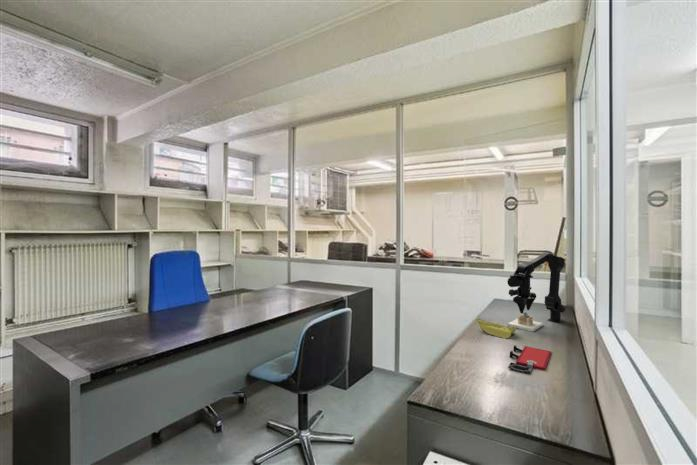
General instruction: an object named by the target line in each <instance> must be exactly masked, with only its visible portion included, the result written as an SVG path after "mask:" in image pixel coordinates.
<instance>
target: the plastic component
mask: <svg viewBox="0 0 697 465" xmlns="http://www.w3.org/2000/svg"><path fill="white" fill-rule="evenodd" d="M476 322H477V324H478V325H479V327H480V330H483V331H484V333H485V332H486V333H487V334H489V335H492V336H495V337H497V338H498V337H499V338H502V339H509V338H510V337H511V335H515V333H516V328H514V327H510V326H506V325H503V324H502V325H501V324H499V323H494V322H491V321H486V320H484V319H481V318H479V317H476Z"/></svg>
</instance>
